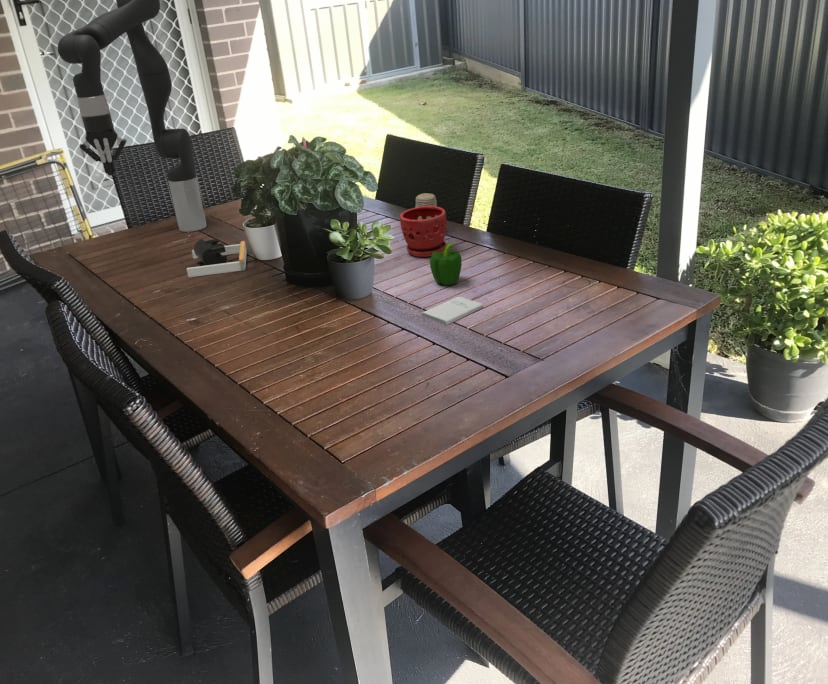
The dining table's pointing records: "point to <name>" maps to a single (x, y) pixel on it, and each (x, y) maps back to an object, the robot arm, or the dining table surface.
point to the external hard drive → (452, 310)
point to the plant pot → (424, 230)
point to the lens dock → (224, 266)
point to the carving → (425, 202)
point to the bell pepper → (446, 266)
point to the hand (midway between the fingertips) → (111, 174)
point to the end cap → (210, 252)
